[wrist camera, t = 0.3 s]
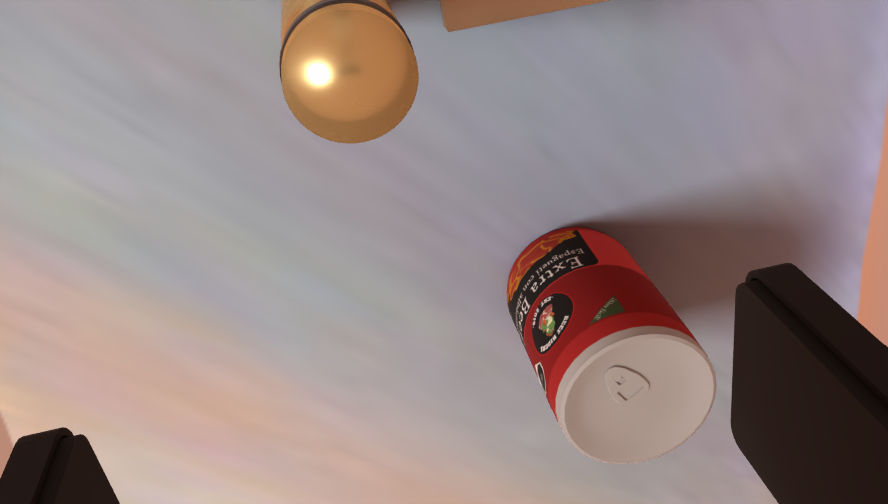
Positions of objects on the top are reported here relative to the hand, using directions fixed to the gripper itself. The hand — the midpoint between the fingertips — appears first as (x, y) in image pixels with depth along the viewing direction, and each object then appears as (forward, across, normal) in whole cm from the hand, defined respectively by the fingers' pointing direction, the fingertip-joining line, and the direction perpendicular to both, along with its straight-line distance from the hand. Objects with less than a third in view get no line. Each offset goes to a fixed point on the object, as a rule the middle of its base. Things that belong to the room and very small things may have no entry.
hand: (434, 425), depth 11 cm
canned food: (+30, -10, +18) cm, 36 cm away
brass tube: (+30, 0, -1) cm, 30 cm away
